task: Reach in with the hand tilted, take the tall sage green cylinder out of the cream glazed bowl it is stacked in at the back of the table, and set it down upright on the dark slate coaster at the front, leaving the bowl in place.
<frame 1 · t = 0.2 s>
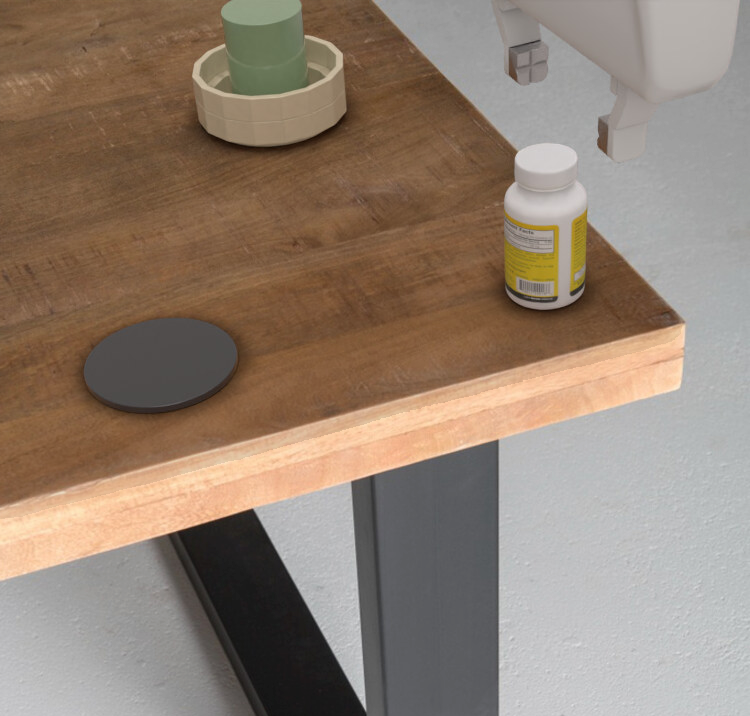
hand: (571, 114, 69), 21 cm above the table, tool pointing down, fingers open, 8 cm apart
sage green cylinder: (273, 110, 117), point 1 cm above the table, touching cream bowl
slate coaster: (161, 366, 92), on the table
cream bowl: (273, 117, 117), on the table, touching sage green cylinder
supplement bottle: (544, 292, 96), on the table
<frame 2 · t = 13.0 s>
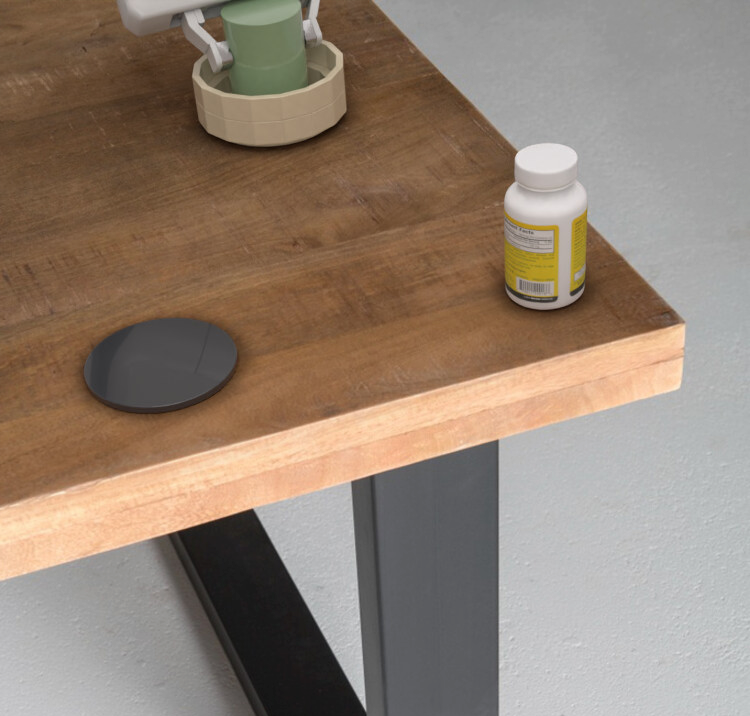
hand: (269, 56, 113), 5 cm above the table, tool tilted 45°, fingers closed on sage green cylinder, 6 cm apart
sage green cylinder: (272, 110, 117), point 1 cm above the table, touching cream bowl, gripper
everything else where it was.
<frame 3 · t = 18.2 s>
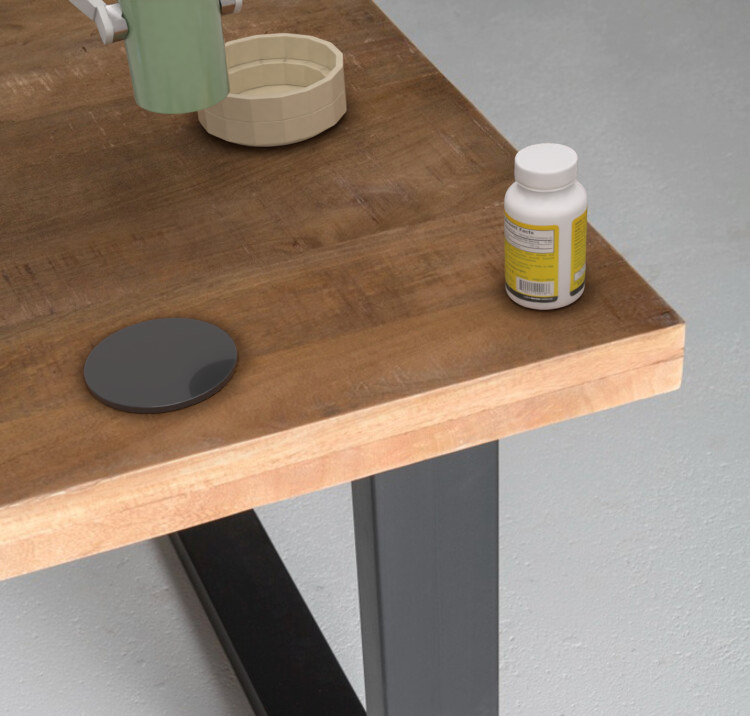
hand: (175, 24, 90), 17 cm above the table, tool tilted 45°, fingers closed on sage green cylinder, 6 cm apart
sage green cylinder: (182, 92, 94), point 12 cm above the table, touching gripper
cream bowl: (273, 117, 117), on the table
everything else where it was.
when the fingers open (5 cm above the table, at t = 23.9 s): sage green cylinder stays where it is, resting on slate coaster.
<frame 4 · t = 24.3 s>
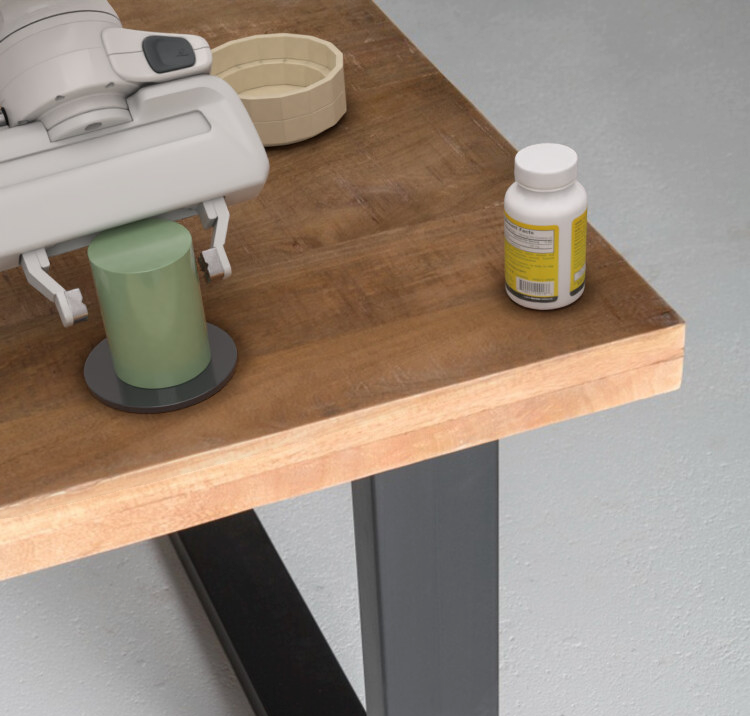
hand: (149, 300, 88), 5 cm above the table, tool tilted 45°, fingers open, 8 cm apart
sage green cylinder: (162, 359, 92), resting on slate coaster
everything else where it was.
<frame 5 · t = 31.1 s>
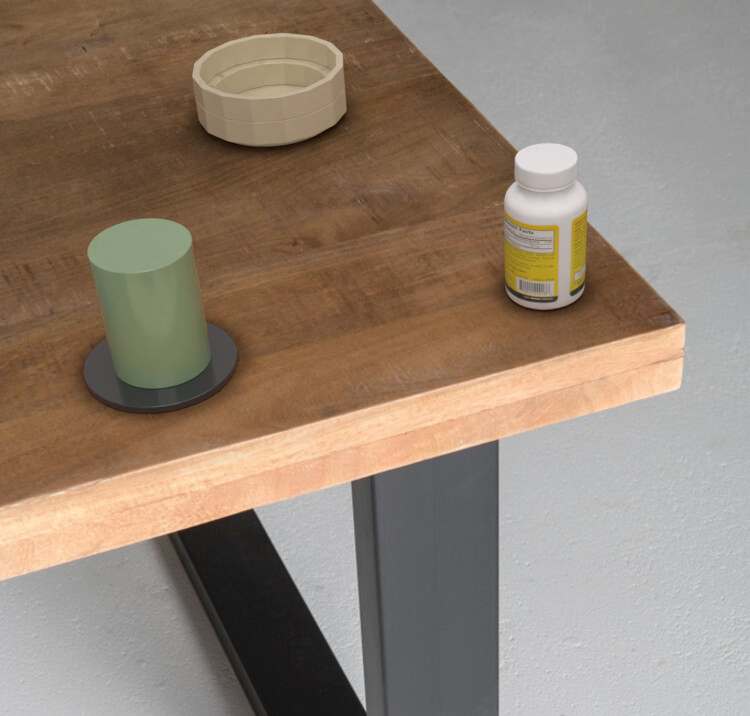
nothing on the table moved.
at the end: sage green cylinder inside the target area on the slate coaster (0.1 cm from its centre), point 0.5 cm above the slate coaster's base; sage green cylinder tilted 0°; cream bowl moved 0.0 cm from its start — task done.
